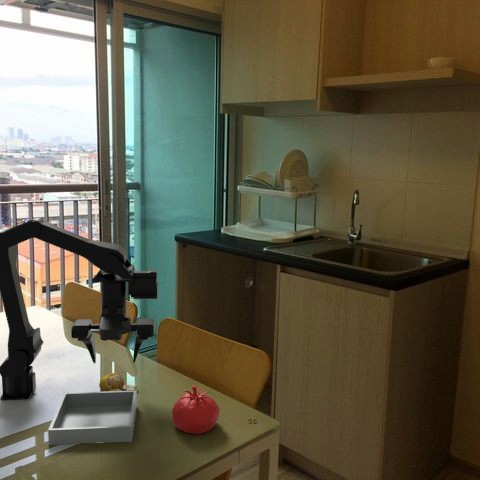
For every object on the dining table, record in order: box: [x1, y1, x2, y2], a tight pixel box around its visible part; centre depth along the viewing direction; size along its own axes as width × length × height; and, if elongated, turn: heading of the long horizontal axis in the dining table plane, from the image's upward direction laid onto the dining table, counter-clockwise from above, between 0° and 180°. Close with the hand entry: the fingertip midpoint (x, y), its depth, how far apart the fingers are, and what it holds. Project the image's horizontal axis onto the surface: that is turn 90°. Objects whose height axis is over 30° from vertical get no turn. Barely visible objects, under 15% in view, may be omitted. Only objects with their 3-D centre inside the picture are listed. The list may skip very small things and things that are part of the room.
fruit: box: [98, 372, 138, 392], centre depth 130 cm, size 8×8×4 cm
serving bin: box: [47, 389, 138, 446], centre depth 114 cm, size 16×16×4 cm
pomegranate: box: [171, 384, 221, 435], centre depth 114 cm, size 10×10×9 cm
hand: (114, 362), depth 128 cm, fingers open, 9 cm apart
